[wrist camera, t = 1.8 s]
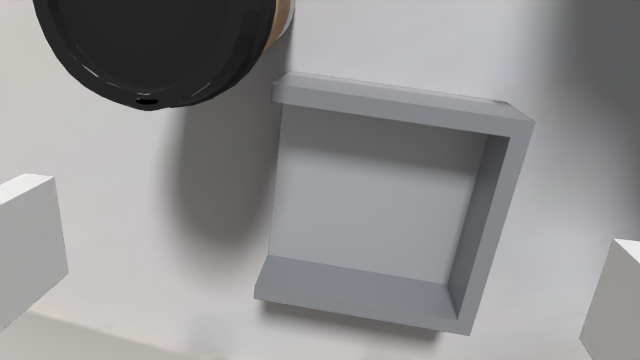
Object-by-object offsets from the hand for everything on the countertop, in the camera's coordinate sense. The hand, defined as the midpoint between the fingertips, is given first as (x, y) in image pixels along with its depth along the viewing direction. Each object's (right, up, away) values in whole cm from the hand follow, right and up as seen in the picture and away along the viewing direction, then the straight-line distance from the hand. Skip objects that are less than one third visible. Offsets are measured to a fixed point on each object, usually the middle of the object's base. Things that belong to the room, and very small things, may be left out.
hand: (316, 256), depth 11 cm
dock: (+4, +1, +21) cm, 21 cm away
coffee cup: (-4, +13, +18) cm, 22 cm away
